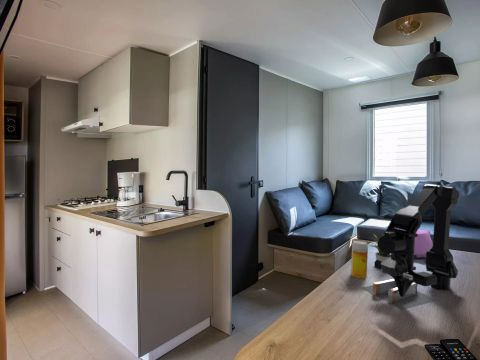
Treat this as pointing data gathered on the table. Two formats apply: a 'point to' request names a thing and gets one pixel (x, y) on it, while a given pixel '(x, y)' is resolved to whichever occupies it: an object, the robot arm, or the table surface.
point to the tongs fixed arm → (383, 286)
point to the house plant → (380, 254)
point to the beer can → (359, 259)
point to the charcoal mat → (406, 302)
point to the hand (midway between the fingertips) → (401, 296)
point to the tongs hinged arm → (395, 296)
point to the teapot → (422, 243)
